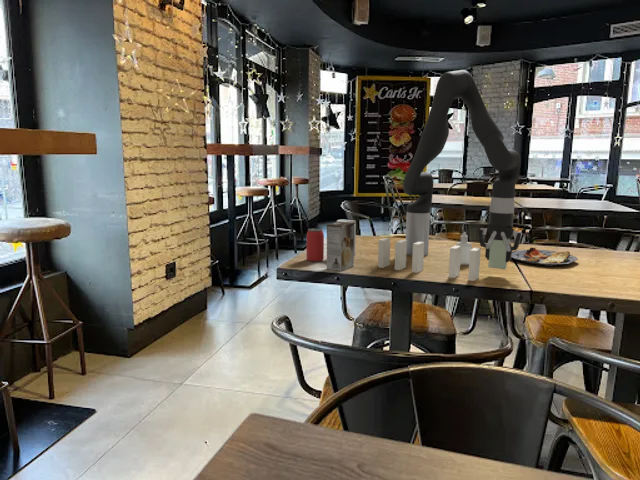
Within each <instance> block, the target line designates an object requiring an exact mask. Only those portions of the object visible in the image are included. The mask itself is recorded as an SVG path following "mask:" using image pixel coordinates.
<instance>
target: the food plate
mask: <svg viewBox="0 0 640 480" xmlns="http://www.w3.org/2000/svg"><path fill="white" fill-rule="evenodd" d="M511 258H513V259H514V260H517V261H520V262H522V263H526V264H532V265H540V266H541V265H542V266H548V267H553V266H556V265H558V266H559V265H561V266H562V265H566V264H567V265H569V264H571V263H574V262H575V261H578V260H579V258H578V257H576V256H574V255H573V254H571V252H570V251H556V250H548V249H537V248H536V247H530V248H529V249H517V250H513V251H512V254H511Z"/></svg>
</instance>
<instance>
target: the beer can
mask: <svg viewBox="0 0 640 480" xmlns="http://www.w3.org/2000/svg"><path fill="white" fill-rule="evenodd" d="M324 235H325V234H324V231H323V228H319V227H318V228H316V227H315V228H308V229H307V233H306V260H307V261H308V262H311V263H318V262H322V261H324V257H325V255H324V254H325V247H324V245H325V236H324Z"/></svg>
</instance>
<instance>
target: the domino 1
mask: <svg viewBox="0 0 640 480" xmlns="http://www.w3.org/2000/svg"><path fill="white" fill-rule="evenodd" d="M377 251H378V253H377V254H378V257H377V268H381V269H383V268H386V267H388V266H390V263H391V262H390V261H391V260H390V258H391V257H390V254H391V237H390V238H389V237H384V238H381V239H378V250H377Z"/></svg>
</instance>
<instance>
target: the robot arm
mask: <svg viewBox="0 0 640 480" xmlns="http://www.w3.org/2000/svg"><path fill="white" fill-rule="evenodd" d="M458 99H460V100H462V101H463V103H465V105H466V106H467V108H468V110H469V116H470V123H471V128H472V131H473V133H474V134H475V136H476V138H477V139H478V141H479V142H480V144H481V145H482V147H483V149H484V152H485V155H486V157H487V161H488V162H489V164H490V165H491V167H492V168H493V169H494V170H495V171H498V173H497V177H496V179H495V180H494V181H493V182H492V187H491V188H492V189H491V199H490V205H489V216H488V217H489V218H488V226H487V227H486V228H483V227H482V228H480V229H478V239H479V246H480V248H482V247H483V248H485V253H484V256H485V259H486V261H489V253H490V245H491V244H492V242H493V240H502V241H504V244H505V246H506V249H507V251H506V261H505V262H507V263H509V262H510V261H511V260H512V257H511V254H512V252H513V251H517V250H519V249H518V248H519V247H520V243H521V241H522V236H523V232H522V231H519V232H518V231H515V230H514V228H513V227H514V216H515V215H514V214H515V195H516V194H515V193H516V183H517V180H518V176H519V173H520V170H521V169H520V168H521V164H522V162H521V155H520V154H519V152H518V151H516V150H515V149H508V148H507V147H506V145H505V143H504V139H505V138H504V134H503V133H502V131H501V129H500V128H499V127H498V125H497V123H496V122H495V121H494V119H493V117H492V116H491V114H490V113H489V110H488V109H487V107H486V104H485V102H484V100H483V98H482V95H481V94H480V90H479V89H478V87H477V84H476V81H475V80H474V78H473V76H472V74H471V73H470V72H469V71H467V70H465V69H459V70H453V71H452V70H451V71H447V72H444V73H443V74H441V75H440V77H439V78H438V79H437V83H436V86H435V91H434V94H433V100H432V102H431V103H432V104H431V106H430V107H431V108H430V110H429V113H428V116H427V119H426V121H425V125H424V128H423V131H422V133H421V135H420V138H419V141H418V144H417V149H416V151H415V153H414V156H413V158H412V159H411V163H410V165H409V167H408V169H407V171H406V172H405V175H404V179H403V184H402V186H403V187H402V189H403V192H404V194H405V195H408V196H418V198H417V199H416V200H414V201H413V202H410V203H409V204H407V206H406V222H405V223H406V224H405V225H406V226H405V240H407V252H406V256H407V255H408V256H413V244H414V243H416V242H424V256H428V255H429V245H430V244H429V243H430V242H429V241H430V221H431V220H430V219H431V207H432V203H433V193H434V177H433V175H432V173H431V172H429V171H424V170H425V168H426V167H427V166H428V165H429V164H430V163H431V162H432V161H433V160H435V159H436V158H437V157H438V156H439V155H440V154H441V153H442V151H443V150H444V148H445V145H446V143H447V141H448V138H449V135H450V128H449V121H448V114H449V111H450V108H451V107H452V103H453V102H454V100H458ZM486 234H488V235H489V238H488V241H487V242H486ZM511 236H513V237H514V239H515V240H514V243H513V245H512V243H511V240H510V238H511ZM508 239H509V241H508Z"/></svg>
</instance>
